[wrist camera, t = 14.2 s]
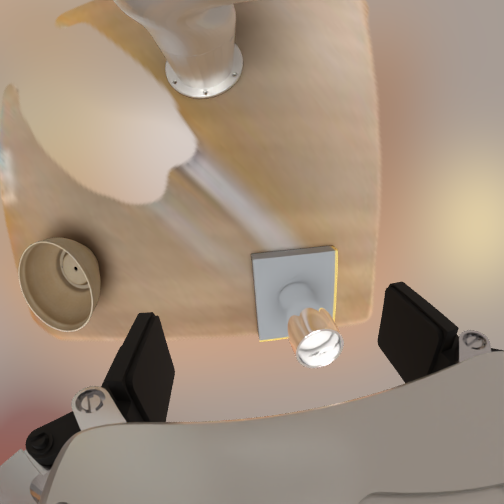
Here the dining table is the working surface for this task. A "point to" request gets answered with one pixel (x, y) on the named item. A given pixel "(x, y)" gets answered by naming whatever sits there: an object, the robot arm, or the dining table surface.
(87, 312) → the planter bowl
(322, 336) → the beer glass
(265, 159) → the dining table surface
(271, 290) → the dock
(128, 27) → the dining table surface
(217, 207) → the dining table surface
